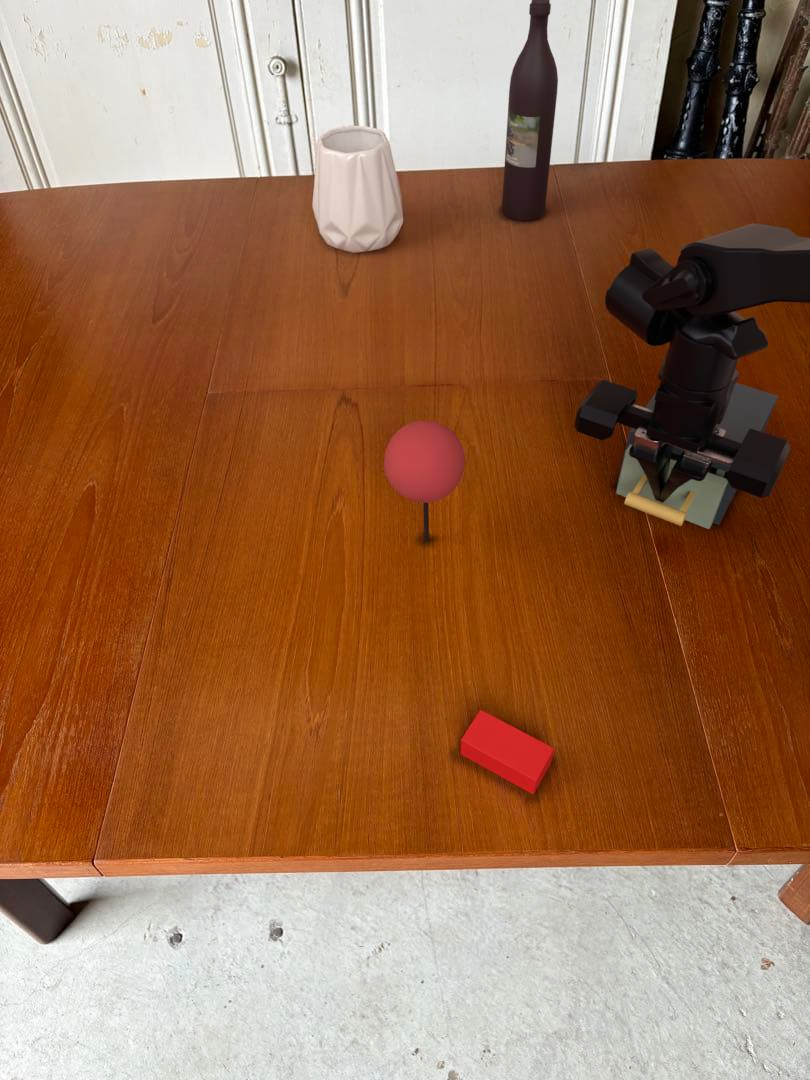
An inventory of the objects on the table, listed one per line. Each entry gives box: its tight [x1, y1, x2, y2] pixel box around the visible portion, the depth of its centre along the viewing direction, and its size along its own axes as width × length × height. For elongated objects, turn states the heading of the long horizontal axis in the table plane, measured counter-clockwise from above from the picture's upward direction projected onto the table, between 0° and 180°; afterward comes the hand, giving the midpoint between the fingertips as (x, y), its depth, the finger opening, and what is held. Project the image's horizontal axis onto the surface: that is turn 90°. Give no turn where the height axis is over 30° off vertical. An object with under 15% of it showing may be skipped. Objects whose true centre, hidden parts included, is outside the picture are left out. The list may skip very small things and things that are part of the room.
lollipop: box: [383, 420, 466, 543], centre depth 81 cm, size 8×8×15 cm
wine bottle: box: [501, 0, 559, 222], centre depth 123 cm, size 7×7×30 cm
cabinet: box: [616, 382, 779, 526], centre depth 90 cm, size 14×12×8 cm
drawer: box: [615, 444, 728, 530], centre depth 87 cm, size 17×10×6 cm, turn 148°
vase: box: [311, 125, 404, 254], centre depth 125 cm, size 14×14×15 cm
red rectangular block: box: [459, 709, 555, 795], centre depth 69 cm, size 7×3×3 cm, turn 58°
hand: (660, 498), depth 82 cm, fingers closed
